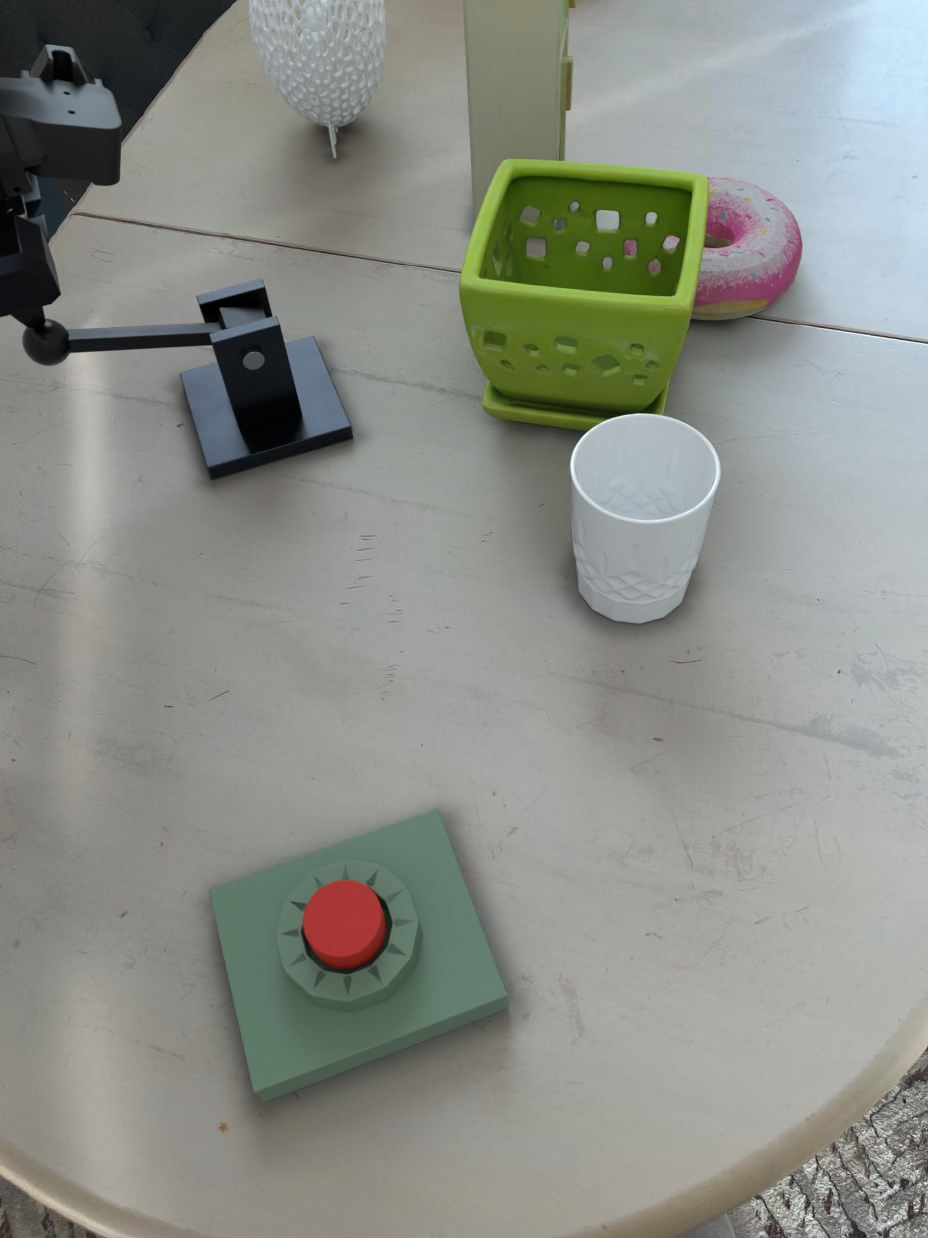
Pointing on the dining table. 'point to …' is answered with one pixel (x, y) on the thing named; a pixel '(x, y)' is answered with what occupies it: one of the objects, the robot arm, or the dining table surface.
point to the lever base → (260, 390)
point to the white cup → (640, 513)
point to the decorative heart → (321, 55)
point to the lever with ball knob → (127, 336)
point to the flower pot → (581, 290)
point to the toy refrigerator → (516, 85)
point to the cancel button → (344, 924)
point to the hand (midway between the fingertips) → (37, 322)
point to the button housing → (368, 994)
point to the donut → (741, 251)
